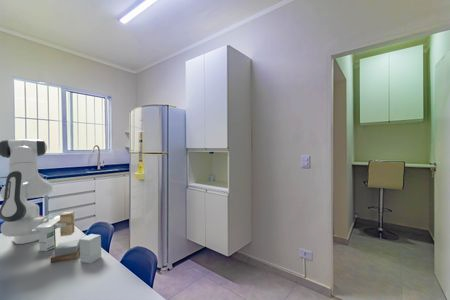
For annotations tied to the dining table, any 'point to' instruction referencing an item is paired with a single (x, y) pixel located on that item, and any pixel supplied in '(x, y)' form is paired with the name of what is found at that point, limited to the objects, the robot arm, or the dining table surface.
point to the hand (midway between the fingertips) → (69, 222)
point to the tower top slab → (67, 247)
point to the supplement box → (90, 248)
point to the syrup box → (47, 241)
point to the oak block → (69, 219)
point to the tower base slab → (65, 257)
